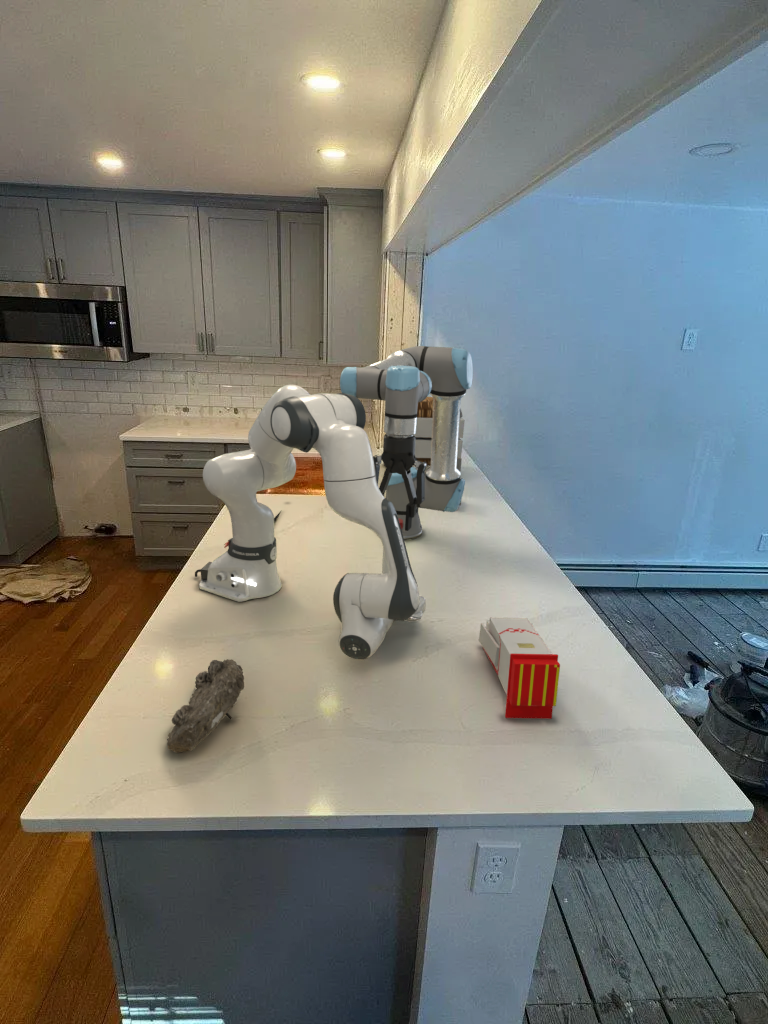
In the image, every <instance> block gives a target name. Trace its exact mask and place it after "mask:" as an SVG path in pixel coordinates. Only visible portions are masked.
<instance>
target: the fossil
mask: <svg viewBox="0 0 768 1024" xmlns="http://www.w3.org/2000/svg"><path fill="white" fill-rule="evenodd" d="M243 670H244V669H243V667H242V665H240V664H237V662H236V661H235V660H234V659H232V658H231V659H227V658H226V659H224V660H223V661H222V660H217V659H212V660H211V661H210V663H209V665H208V666H207V671H201V672H199V673H198V674H197V675H196V676H195V680H194V684H195V685H194V687H195V689H194V690H193V693H192V694H191V697H190V698H189V700H188V704H184V705H182V706H181V707H180V709H177V710H176V711H175V713H174V715H173V716H172V718H171V723H172V724H173V727H172V730H171V731H170V732H168V734H167V738H166V741H167V742H166V745H167V749H168V750H169V751H173V752H174V753H176V754H178V753H182V752H188V751H189V752H192V751H193V750H195V748H196V747H197V746H199V744H200V743H201V742H203V741H204V740H205V739H206V738H207V737H208V736H209V735H210V734H211V733H212V732H214V730H215V729H217V727H218V726H219V724H220V722H221V721H222V720H223V719H224V718H225V716H226V717H227V719H229V720H233V717H232V715H230V714H229V710H230V709H231V708H234V706H235V704H236V703H237V702H238V699H239V697H240V695H241V693H242V691H243V690H245V689H244V688H245V675H244V671H243Z"/></svg>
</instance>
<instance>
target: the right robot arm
mask: <svg viewBox="0 0 768 1024" xmlns="http://www.w3.org/2000/svg"><path fill="white" fill-rule="evenodd" d="M473 365H474V364H473V359H472V355H471V353H470V352H469V350H467V349H465V348H459V347H458V348H457V347H449V346H448V347H447V346H426V345H417V346H416V345H415V346H411V347H405V348H403V349H400V350H399V349H398V350H396V351H393V352H392V353H391V354H389V355H388V357H387V358H385V359H382V360H380V361H377V362H374V363H372V364H369V365H366V366H363V367H359V366H345V367H344V368H343V369H342V371H341V374H340V378H339V388H340V393H344V394H349V395H352V396H355V397H357V398H358V399H364V400H374V401H375V400H376V401H384V423H383V432H384V435H383V441H382V442H383V443H382V444H383V445H382V447H383V448H382V450H383V451H382V453H381V455H378V454H375V455H373V459H374V465H375V473H376V481H377V485H378V487H379V490H380V492H381V493H382V495H383V496H384V498H385V499H387V500H389V501H390V502H392V504H393V506H394V508H395V510H396V513H397V516H398V518H399V519H402V520H403V528H402V529H401V530H402V534H403V538H404V540H405V541H410V540H415V539H418V538H420V537H421V536H422V535H423V525H422V524H421V518H420V515H419V509H425V510H432V511H439V512H443V513H445V512H447V513H455V512H457V511H458V509H459V508H460V506H461V505H460V502H461V503H462V499H463V495H464V491H465V486H466V479H464V478H462V477H461V475H462V474H460V471H459V470H458V469H457V468H456V466H457V450H458V435H459V419H460V408H461V401H462V398H464V396H465V395H467V390H469V389H471V388H472V385H473V377H474V369H473V368H474V367H473ZM429 395H430V397H433V418H432V442H431V465H430V466H429V468H427V467H428V466H427V463H426V462H420V461H418V460H416V457H415V442H416V437H415V436H414V434H416V425H417V408H418V402H421V401H423V400H425V398H427V397H429ZM382 463H384V464H385V466H384V467H385V470H384V471H383V477H382V479H381V481H380V484H379V479H380V471H381V464H382ZM384 464H383V465H384ZM413 465H415V466H413ZM459 505H460V506H459Z"/></svg>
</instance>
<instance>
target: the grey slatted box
mask: <svg viewBox="0 0 768 1024" xmlns="http://www.w3.org/2000/svg"><path fill="white" fill-rule="evenodd" d="M432 418H433V397H432V396H427V398H425V400H423V401H421V402H418V408H417V425H416V434H414V436H415V437H416V442H415V457H416V460H418V461H420V462H426V463H427V466H426V467H431V442H432ZM464 429H465V419H464V418H463V411H462V408H461V407H460V419H459V435H458V450H457V466H456V468H457V469H458V470H459V471H460V474H461V472H462V461H463V460H462V453H463V442H464V441H463V440H462V439H463V438H464V431H465V430H464ZM382 463H383V462H382ZM383 466H384V467H386V466H385V464H384V463H383ZM412 467H416V466H415V465H413V466H412ZM461 475H462V474H461Z"/></svg>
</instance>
